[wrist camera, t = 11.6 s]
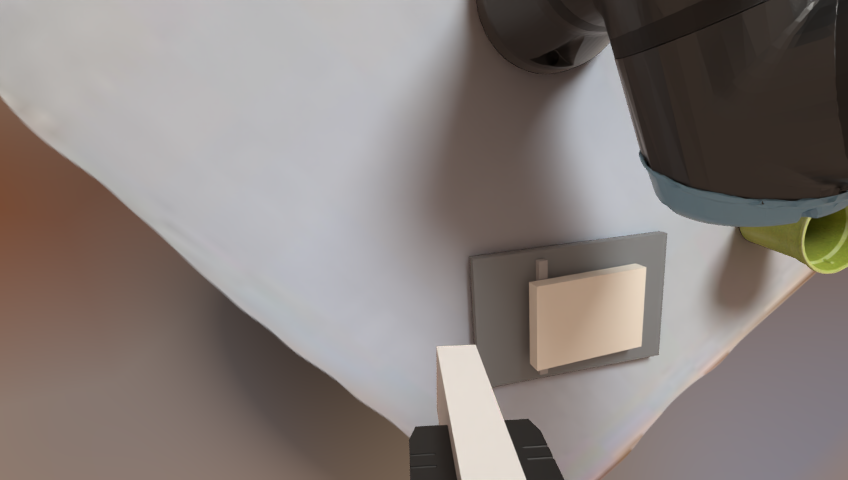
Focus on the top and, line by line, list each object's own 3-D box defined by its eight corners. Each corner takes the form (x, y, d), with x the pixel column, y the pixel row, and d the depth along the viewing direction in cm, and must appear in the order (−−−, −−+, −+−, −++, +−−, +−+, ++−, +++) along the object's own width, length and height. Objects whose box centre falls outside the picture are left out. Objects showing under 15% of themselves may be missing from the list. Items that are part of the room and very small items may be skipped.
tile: (537, 370, 44) (641, 346, 48) (536, 286, 42) (646, 267, 45) (529, 363, 46) (630, 339, 49) (528, 281, 43) (634, 263, 47)
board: (476, 383, 48) (481, 393, 46) (469, 256, 44) (474, 261, 42) (651, 350, 52) (663, 358, 50) (659, 231, 48) (672, 234, 46)
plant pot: (714, 214, 49) (790, 228, 41) (772, 165, 49) (859, 168, 41) (744, 268, 52) (820, 290, 43) (798, 221, 52) (885, 234, 43)
